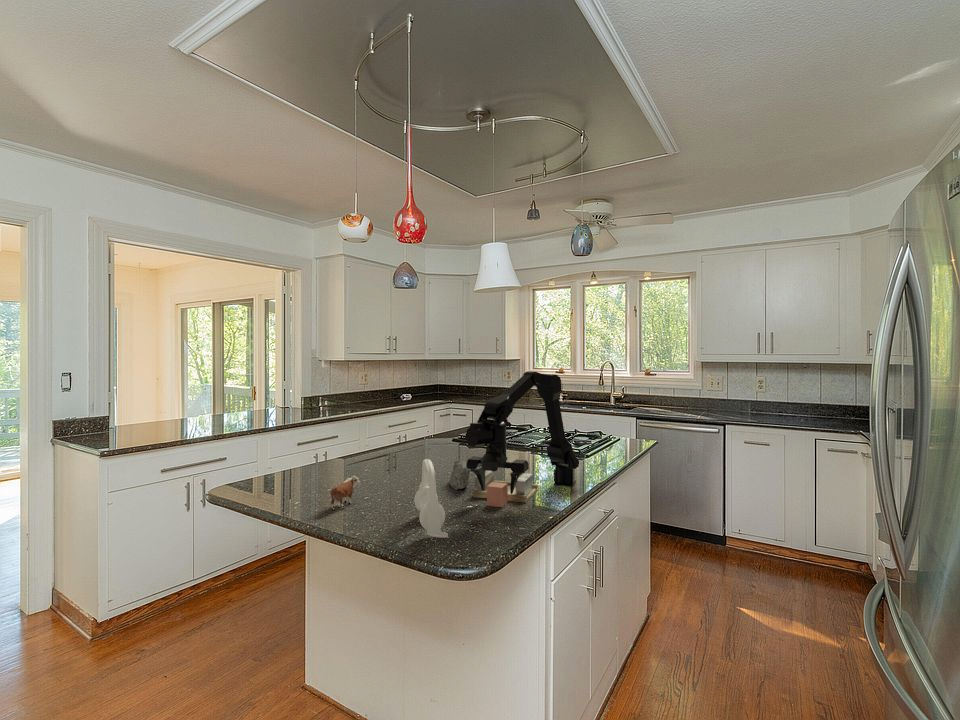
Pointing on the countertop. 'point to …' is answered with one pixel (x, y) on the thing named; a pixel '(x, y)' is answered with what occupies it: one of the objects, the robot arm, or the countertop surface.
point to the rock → (459, 475)
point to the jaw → (524, 484)
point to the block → (497, 494)
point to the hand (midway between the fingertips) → (497, 492)
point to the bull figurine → (344, 490)
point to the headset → (429, 502)
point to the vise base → (490, 478)
